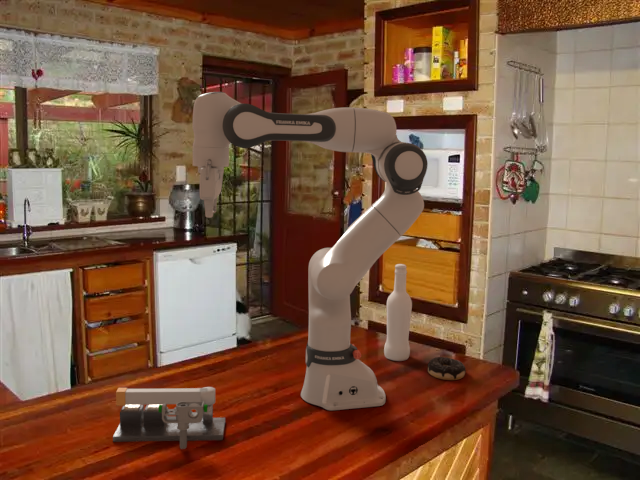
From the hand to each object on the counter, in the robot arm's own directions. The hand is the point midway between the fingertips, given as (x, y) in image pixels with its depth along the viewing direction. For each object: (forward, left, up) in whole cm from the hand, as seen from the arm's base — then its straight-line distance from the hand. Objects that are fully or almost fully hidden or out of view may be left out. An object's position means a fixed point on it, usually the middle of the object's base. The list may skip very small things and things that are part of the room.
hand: (210, 215), depth 155 cm
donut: (-68, -16, -48) cm, 85 cm away
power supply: (+11, +17, -47) cm, 51 cm away
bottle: (-56, -30, -48) cm, 80 cm away
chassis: (+7, +19, -48) cm, 52 cm away
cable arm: (+9, +17, -42) cm, 46 cm away
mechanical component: (+4, +27, -48) cm, 55 cm away
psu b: (+17, +17, -47) cm, 52 cm away
